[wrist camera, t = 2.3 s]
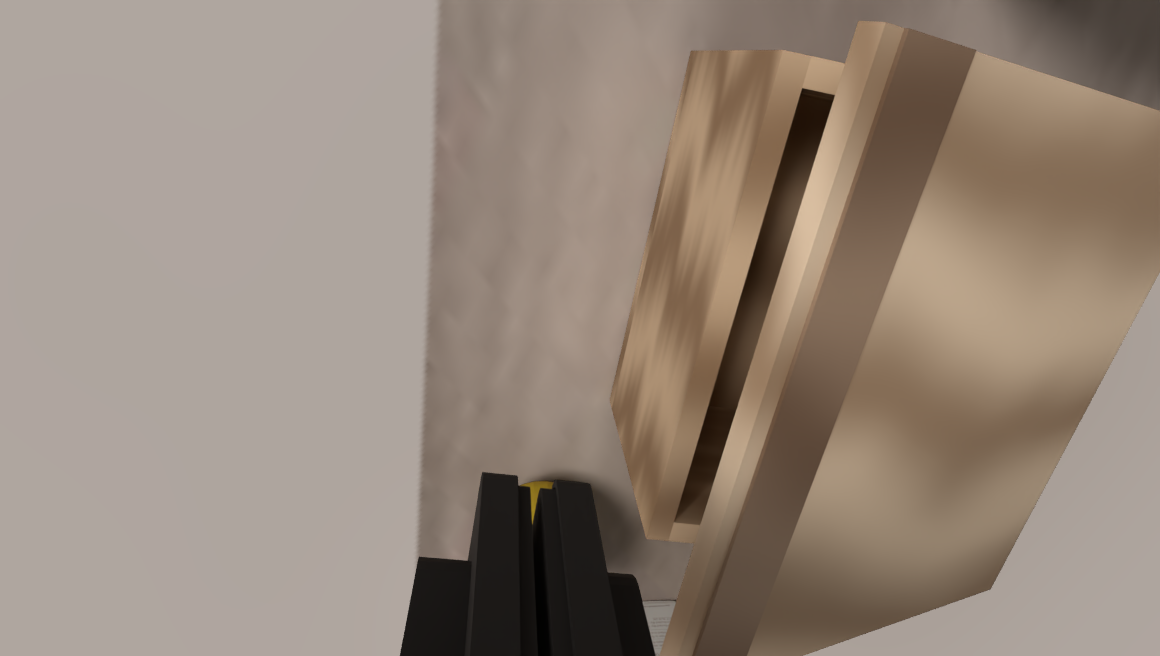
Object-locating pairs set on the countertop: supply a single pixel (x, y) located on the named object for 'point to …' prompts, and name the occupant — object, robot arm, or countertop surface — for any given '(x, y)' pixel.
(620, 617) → the robot arm
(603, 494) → the countertop surface
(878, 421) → the lid flap
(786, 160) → the light brown boxy piece
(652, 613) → the supplement box
